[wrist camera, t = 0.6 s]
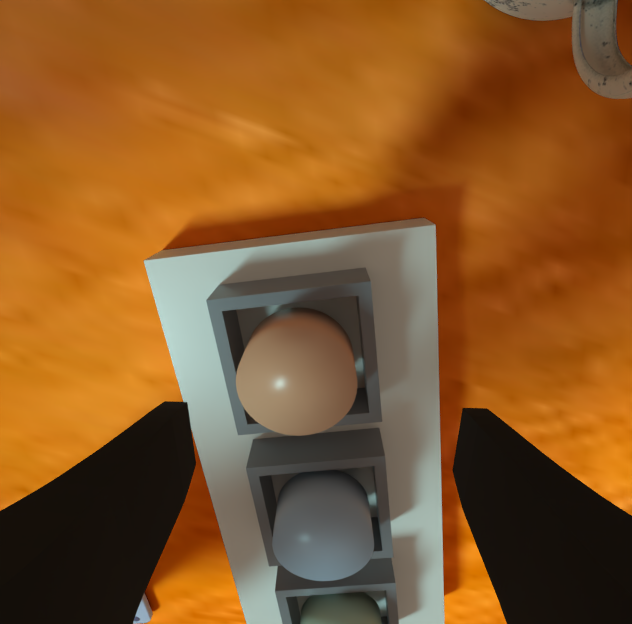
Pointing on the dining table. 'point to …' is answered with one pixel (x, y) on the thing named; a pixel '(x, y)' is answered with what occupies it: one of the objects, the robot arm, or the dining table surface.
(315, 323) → the terracotta button
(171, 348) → the button console
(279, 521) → the dusty blue button
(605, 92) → the teacup with lid
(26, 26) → the dining table surface
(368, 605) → the sage button
